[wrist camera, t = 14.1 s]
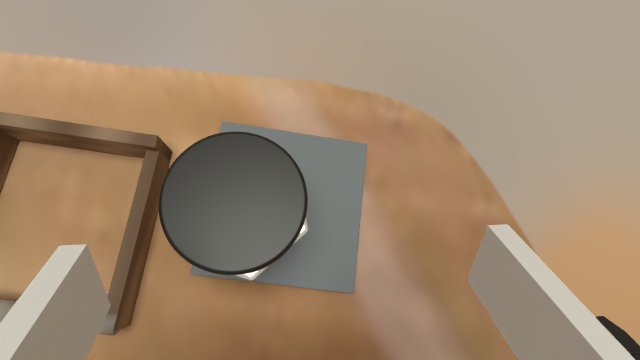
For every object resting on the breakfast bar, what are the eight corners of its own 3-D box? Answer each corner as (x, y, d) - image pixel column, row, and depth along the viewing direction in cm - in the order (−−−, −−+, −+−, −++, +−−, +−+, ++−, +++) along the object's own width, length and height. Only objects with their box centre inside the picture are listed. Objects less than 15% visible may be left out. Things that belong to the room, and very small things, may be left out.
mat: (192, 273, 30) (190, 274, 29) (223, 123, 33) (222, 121, 33) (352, 293, 31) (353, 293, 30) (365, 146, 34) (366, 143, 34)
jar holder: (-58, 309, 27) (-114, 316, 23) (11, 128, 31) (-27, 108, 27) (128, 329, 28) (105, 338, 24) (172, 151, 32) (157, 135, 28)
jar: (260, 160, 32) (250, 99, 21) (319, 226, 31) (343, 201, 20) (179, 223, 30) (117, 195, 18) (240, 296, 29) (214, 315, 17)
